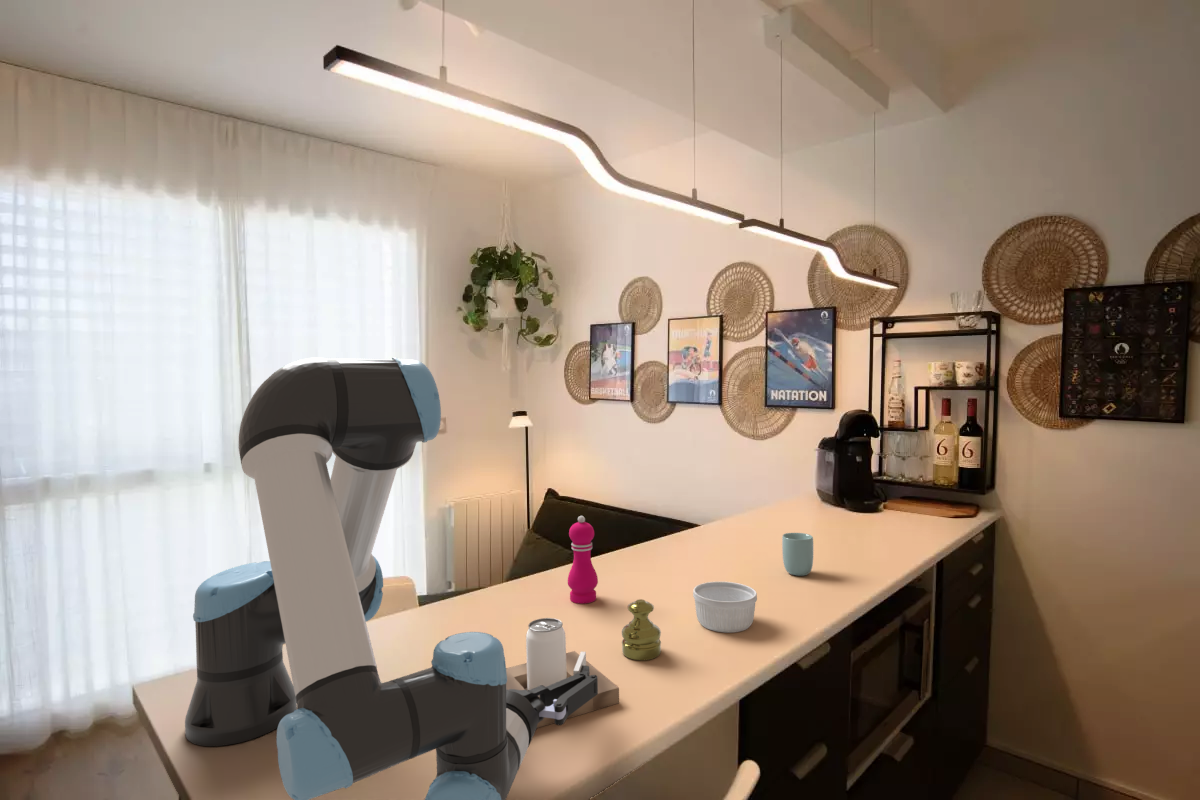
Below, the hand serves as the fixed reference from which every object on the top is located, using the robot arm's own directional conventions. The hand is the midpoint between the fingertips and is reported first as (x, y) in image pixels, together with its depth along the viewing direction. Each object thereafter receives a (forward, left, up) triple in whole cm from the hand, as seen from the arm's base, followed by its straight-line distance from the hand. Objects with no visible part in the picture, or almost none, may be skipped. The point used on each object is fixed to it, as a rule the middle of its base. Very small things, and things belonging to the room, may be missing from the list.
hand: (540, 658), depth 98 cm
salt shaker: (+25, +10, -9) cm, 28 cm away
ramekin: (+48, +13, -9) cm, 50 cm away
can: (+3, +4, -9) cm, 10 cm away
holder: (+3, +4, -9) cm, 10 cm away
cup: (+86, +29, -9) cm, 91 cm away
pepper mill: (+29, +42, -9) cm, 52 cm away
